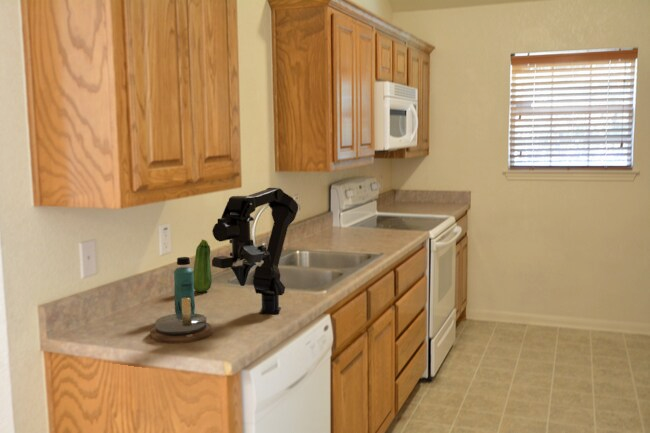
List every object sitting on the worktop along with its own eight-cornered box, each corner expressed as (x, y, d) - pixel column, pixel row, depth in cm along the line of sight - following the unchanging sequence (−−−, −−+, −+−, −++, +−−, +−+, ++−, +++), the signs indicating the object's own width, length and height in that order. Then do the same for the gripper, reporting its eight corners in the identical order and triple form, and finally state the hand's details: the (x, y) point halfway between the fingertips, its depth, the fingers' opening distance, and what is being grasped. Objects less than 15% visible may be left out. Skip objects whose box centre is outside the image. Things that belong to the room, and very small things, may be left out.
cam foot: (150, 325, 205) (148, 292, 204) (197, 318, 212) (196, 285, 211) (163, 338, 192) (161, 303, 191) (213, 330, 199) (212, 296, 198)
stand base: (144, 330, 206) (144, 324, 206) (201, 321, 215) (201, 316, 214) (159, 346, 191) (159, 340, 190) (220, 336, 199) (220, 331, 199)
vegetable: (189, 291, 255) (187, 239, 252) (206, 288, 259) (204, 237, 257) (198, 295, 249) (196, 241, 247) (215, 291, 254) (213, 239, 251)
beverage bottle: (171, 317, 220) (168, 257, 217) (188, 313, 224) (186, 254, 222) (182, 321, 215) (179, 260, 212) (199, 317, 220) (197, 257, 217)
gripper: (231, 243, 197) (232, 295, 199) (280, 235, 210) (281, 284, 212) (210, 239, 205) (211, 289, 207) (258, 232, 218) (260, 279, 220)
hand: (242, 285), depth 211 cm, fingers closed
